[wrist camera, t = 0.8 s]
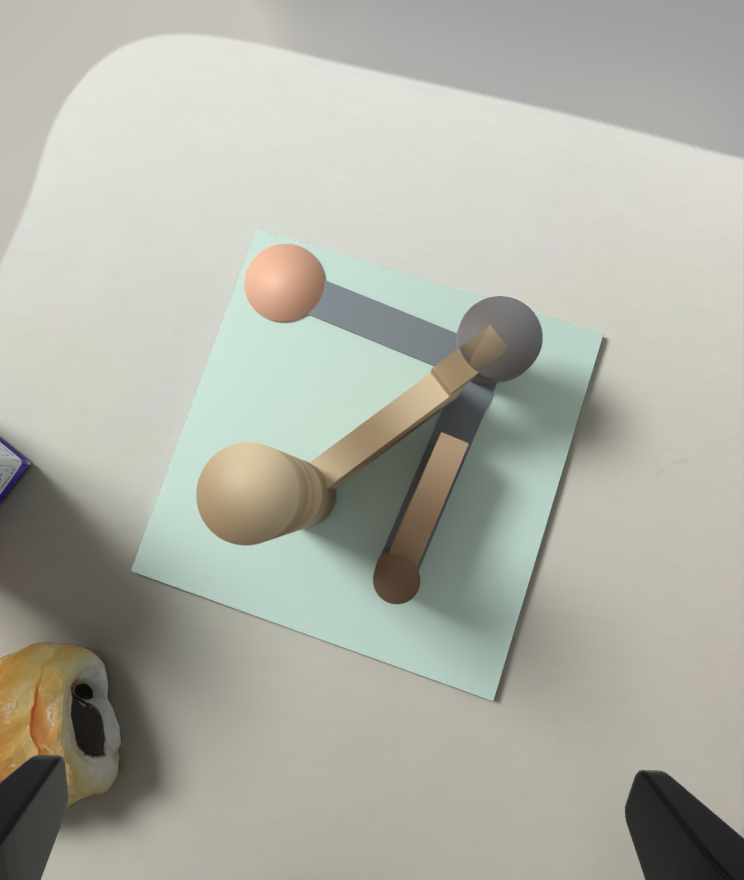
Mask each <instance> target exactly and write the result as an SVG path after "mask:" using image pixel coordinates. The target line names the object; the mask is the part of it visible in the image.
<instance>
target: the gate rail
mask: <svg viewBox="0 0 744 880" xmlns="http://www.w3.org/2000/svg"><path fill="white" fill-rule="evenodd" d="M542 343H543V334H542V328H541V325H540V322H539V320H538V318H537V316H536V315H535V313H534V312H533V311H532V310H531V309H530V308H529V307H528V306H527V305H525V304H524V303H522V302H521V301H518V300H516V299H513V298H510V297H503V296H497V297H490V298H486V299H483V300H481V301H479V302H478V303H476V304H474V305H473V306H472V307H471V308H470V309H469V310H468V311H467V312H466V314H465V315H464V316H463V318H462V320H461V323H460V325H459V328H458V331H457V335H456V351H454V352H453V353H452V354H450V355H449V356H448V357H446V358H445V359H443V360H442V361H441V362H439V363H438V364H437V365H435V366H434V367H433V368H432V369H431V373H430V374H428V375H427V376H426V377H424V378H423V379H422V380H420V381H419V382H418V383H416V384H415V385H414V386H412V387H411V388H410V389H408V390H407V391H405V392H404V393H403V394H401V395H400V396H399V397H397V398H396V399H395V400H393V401H392V402H391V403H389V404H388V405H387V406H385V407H384V408H383V409H381V410H380V411H378V412H377V413H376V414H374V415H373V416H372V417H370V418H369V419H368V420H366V421H365V422H364V423H362V424H361V425H360V426H358V427H357V428H356V429H354V430H353V431H352V432H350V433H349V434H347V435H346V436H345V437H343V438H342V439H341V440H339V441H338V442H337V443H335V444H334V445H333V446H331V447H330V448H329V449H327V450H326V451H325V452H323V453H322V454H320V455H319V456H318V457H316V458H315V459H314V460H312V461H311V462H310V463H309V462H306V461H304V460H302V459H299V458H297V457H294V456H292V455H289V454H287V453H284V452H282V451H279V450H277V449H274V448H272V447H269V446H267V445H264V444H261V443H256V442H241V443H236V444H233V445H230V446H228V447H226V448H223V449H222V450H220V451H219V452H217V453H216V454H215V455H214V456H213V457H212V458H211V459H210V460H209V461H208V462H207V464H206V465H205V467H204V468H203V470H202V472H201V474H200V477H199V480H198V484H197V490H196V500H197V507H198V510H199V513H200V516H201V518H202V520H203V521H204V523H205V525H206V526H207V527H208V528H209V530H210V531H211V532H212V533H214V534H215V535H216V536H217V537H219V538H220V539H222V540H224V541H226V542H229V543H232V544H236V545H244V546H247V545H256V544H260V543H263V542H266V541H269V540H272V539H275V538H278V537H281V536H284V535H287V534H290V533H293V532H296V531H298V530H301V529H304V528H307V527H310V526H313V525H316V524H318V523H320V522H322V521H323V520H325V519H326V518H327V517H328V516H329V515H330V513H331V512H332V510H333V508H334V506H335V502H336V488H337V487H339V486H340V485H341V484H343V483H344V482H345V481H347V480H348V479H349V478H351V477H352V476H354V475H355V474H356V473H358V472H359V471H360V470H362V469H363V468H364V467H366V466H367V465H368V464H370V463H371V462H372V461H374V460H375V459H376V458H378V457H379V456H380V455H382V454H383V453H384V452H386V451H387V450H388V449H390V448H391V447H392V446H394V445H395V444H397V443H398V442H399V441H401V440H402V439H403V438H405V437H406V436H407V435H409V434H410V433H411V432H413V431H414V430H415V429H417V428H418V427H419V426H421V425H422V424H423V423H425V422H426V421H427V420H429V419H430V418H431V417H433V416H434V415H436V414H437V413H438V412H440V411H441V410H442V409H444V408H445V407H446V406H448V405H449V404H450V403H452V402H453V401H454V400H456V399H457V397H458V396H459V394H460V392H461V391H462V389H463V388H464V386H465V385H466V384H467V383H468V382H470V381H471V380H472V379H474V378H475V377H476V378H479V379H481V380H483V381H487V382H493V383H501V382H507V381H510V380H513V379H515V378H517V377H519V376H520V375H522V374H523V373H524V372H525V371H526V370H527V369H528V368H529V367H530V366H531V365H532V364H533V363H534V362H535V361H536V359H537V357H538V355H539V353H540V351H541V348H542Z"/></svg>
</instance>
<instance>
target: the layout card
mask: <svg viewBox="0 0 744 880" xmlns="http://www.w3.org/2000/svg"><path fill="white" fill-rule="evenodd" d="M483 299H486V298H485V297H481V296H478V295H475V294H472V293H468V292H465V291H462V290H458V289H455V288H452V287H448V286H445V285H442V284H438V283H435V282H432V281H428V280H425V279H422V278H418V277H415V276H412V275H408V274H405V273H402V272H399V271H395V270H392V269H389V268H385V267H382V266H379V265H375V264H372V263H369V262H365V261H362V260H359V259H355V258H352V257H349V256H345V255H342V254H339V253H335V252H332V251H329V250H326V249H322V248H319V247H316V246H312V245H309V244H306V243H302V242H299V241H296V240H292V239H289V238H286V237H282V236H279V235H276V234H272V233H269V232H266V231H263V230H259V229H256V231H255V234H254V237H253V239H252V242H251V245H250V248H249V250H248V253H247V256H246V258H245V261H244V264H243V267H242V269H241V272H240V275H239V277H238V280H237V283H236V286H235V288H234V291H233V294H232V297H231V299H230V302H229V305H228V307H227V310H226V313H225V316H224V318H223V321H222V324H221V326H220V329H219V332H218V335H217V337H216V340H215V343H214V345H213V348H212V351H211V354H210V356H209V359H208V362H207V364H206V367H205V370H204V373H203V375H202V378H201V381H200V384H199V386H198V389H197V392H196V394H195V397H194V400H193V403H192V405H191V408H190V411H189V413H188V416H187V419H186V422H185V424H184V427H183V430H182V432H181V435H180V438H179V441H178V443H177V446H176V449H175V452H174V454H173V457H172V460H171V462H170V465H169V468H168V471H167V473H166V476H165V479H164V481H163V484H162V487H161V490H160V492H159V495H158V498H157V500H156V503H155V506H154V509H153V511H152V514H151V517H150V519H149V522H148V525H147V528H146V530H145V533H144V536H143V539H142V541H141V544H140V547H139V549H138V552H137V555H136V558H135V560H134V563H133V566H132V568H131V571H132V572H135V573H138V574H140V575H143V576H146V577H149V578H151V579H154V580H157V581H160V582H163V583H165V584H168V585H171V586H174V587H177V588H179V589H182V590H185V591H188V592H190V593H193V594H196V595H199V596H202V597H204V598H207V599H210V600H213V601H215V602H218V603H221V604H224V605H227V606H229V607H232V608H235V609H238V610H241V611H243V612H246V613H249V614H252V615H254V616H257V617H260V618H263V619H266V620H268V621H271V622H274V623H277V624H280V625H282V626H285V627H288V628H291V629H293V630H296V631H299V632H302V633H305V634H307V635H310V636H313V637H316V638H319V639H321V640H324V641H327V642H330V643H332V644H335V645H338V646H341V647H344V648H346V649H349V650H352V651H355V652H358V653H360V654H363V655H366V656H369V657H371V658H374V659H377V660H380V661H383V662H385V663H388V664H391V665H394V666H397V667H399V668H402V669H405V670H408V671H410V672H413V673H416V674H419V675H422V676H424V677H427V678H430V679H433V680H436V681H438V682H441V683H444V684H447V685H449V686H452V687H455V688H458V689H461V690H463V691H466V692H469V693H472V694H475V695H477V696H480V697H483V698H486V699H488V700H491V701H493V700H494V697H495V694H496V690H497V687H498V684H499V680H500V677H501V674H502V670H503V667H504V664H505V660H506V657H507V654H508V650H509V647H510V644H511V640H512V637H513V634H514V630H515V627H516V624H517V620H518V617H519V614H520V610H521V607H522V604H523V600H524V597H525V594H526V590H527V587H528V584H529V580H530V577H531V574H532V570H533V567H534V564H535V560H536V557H537V554H538V550H539V547H540V544H541V541H542V537H543V534H544V531H545V527H546V524H547V521H548V517H549V514H550V511H551V507H552V504H553V501H554V497H555V494H556V491H557V487H558V484H559V481H560V477H561V474H562V471H563V467H564V464H565V461H566V457H567V454H568V451H569V447H570V444H571V441H572V437H573V434H574V431H575V427H576V424H577V421H578V417H579V414H580V411H581V407H582V404H583V401H584V397H585V394H586V391H587V387H588V384H589V381H590V377H591V374H592V371H593V367H594V364H595V361H596V357H597V354H598V351H599V347H600V344H601V341H602V337H603V334H604V333H601V332H598V331H594V330H591V329H588V328H584V327H581V326H578V325H574V324H571V323H568V322H564V321H561V320H558V319H554V318H551V317H548V316H544V315H541V314H538V313H535V312H534V313H535V315H536V316H537V318H538V320H539V322H540V325H541V328H542V334H543V343H542V348H541V351H540V353H539V355H538V357H537V359H536V361H535V362H534V363H533V364H532V365H531V366H530V367H529V368H528V369H527V370H526V371H525V372H524V373H523V374H522V375H520V376H519V377H517V378H515V379H513V380H510V381H507V382H501V383H492V384H489V385H478V384H474V383H472V382H471V381H470V382H468V383H467V384H466V385H465V386H464V388H463V389H462V391H461V392H460V394H459V396H458V397H457V399H456V400H454V401H453V402H452V403H450V404H449V405H448V406H446V407H445V408H444V409H442V410H441V411H440V412H438V413H437V414H436V415H434V416H433V417H431V418H430V419H429V420H427V421H426V422H425V423H423V424H422V425H421V426H419V427H418V428H417V429H415V430H414V431H413V432H411V433H410V434H409V435H407V436H406V437H405V438H403V439H402V440H401V441H399V442H398V443H397V444H395V445H394V446H392V447H391V448H390V449H388V450H387V451H386V452H384V453H383V454H382V455H380V456H379V457H378V458H376V459H375V460H374V461H372V462H371V463H370V464H368V465H367V466H366V467H364V468H363V469H362V470H360V471H359V472H358V473H356V474H355V475H354V476H352V477H351V478H349V479H348V480H347V481H345V482H344V483H343V484H341V485H340V486H339V487H337V488H336V502H335V506H334V508H333V510H332V512H331V513H330V515H329V516H328V517H327V518H326V519H325V520H323V521H322V522H320V523H318V524H316V525H313V526H310V527H307V528H304V529H301V530H298V531H296V532H293V533H290V534H287V535H284V536H281V537H278V538H275V539H272V540H269V541H266V542H263V543H260V544H256V545H247V546H244V545H236V544H232V543H229V542H226V541H224V540H222V539H220V538H219V537H217V536H216V535H215V534H214V533H212V532H211V531H210V530H209V528H208V527H207V526H206V525H205V523H204V521H203V520H202V518H201V516H200V513H199V510H198V507H197V500H196V490H197V484H198V480H199V477H200V474H201V472H202V470H203V468H204V467H205V465H206V464H207V462H208V461H209V460H210V459H211V458H212V457H213V456H214V455H215V454H216V453H217V452H219V451H220V450H222V449H223V448H226V447H228V446H230V445H233V444H236V443H241V442H256V443H261V444H264V445H267V446H269V447H272V448H274V449H277V450H279V451H282V452H284V453H287V454H289V455H292V456H294V457H297V458H299V459H302V460H304V461H306V462H309V463H310V462H311V461H312V460H314V459H315V458H316V457H318V456H319V455H320V454H322V453H323V452H325V451H326V450H327V449H329V448H330V447H331V446H333V445H334V444H335V443H337V442H338V441H339V440H341V439H342V438H343V437H345V436H346V435H347V434H349V433H350V432H352V431H353V430H354V429H356V428H357V427H358V426H360V425H361V424H362V423H364V422H365V421H366V420H368V419H369V418H370V417H372V416H373V415H374V414H376V413H377V412H378V411H380V410H381V409H383V408H384V407H385V406H387V405H388V404H389V403H391V402H392V401H393V400H395V399H396V398H397V397H399V396H400V395H401V394H403V393H404V392H405V391H407V390H408V389H410V388H411V387H412V386H414V385H415V384H416V383H418V382H419V381H420V380H422V379H423V378H424V377H426V376H427V375H428V374H430V373H431V369H432V368H433V367H434V366H435V365H437V364H438V363H439V362H441V361H442V360H443V359H445V358H446V357H448V356H449V355H450V354H452V353H453V352H454V351H456V335H457V331H458V328H459V325H460V323H461V320H462V318H463V316H464V315H465V314H466V312H467V311H468V310H469V309H470V308H471V307H472V306H473V305H474V304H476V303H478V302H479V301H481V300H483ZM441 432H443V433H445V434H447V435H450V436H452V437H455V438H457V439H459V440H462V441H464V442H466V443H469V444H468V447H467V449H466V452H465V454H464V456H463V459H462V461H461V464H460V466H459V468H458V471H457V473H456V475H455V478H454V480H453V483H452V485H451V487H450V490H449V492H448V495H447V497H446V499H445V502H444V504H443V507H442V509H441V511H440V514H439V516H438V518H437V521H436V523H435V526H434V528H433V530H432V533H431V535H430V538H429V540H428V542H427V545H426V547H425V550H424V552H423V554H422V557H421V559H420V561H419V564H418V566H417V567H418V571H419V574H420V587H419V590H418V592H417V594H416V595H415V596H414V597H413V598H412V599H411V600H410V601H408V602H406V603H403V604H390V603H388V602H386V601H384V600H382V599H381V598H380V597H379V596H378V594H377V593H376V591H375V589H374V586H373V574H374V571H375V567H376V564H377V560H378V558H379V557H380V555H381V554H382V553H383V552H384V551H386V550H388V549H390V548H391V545H392V543H393V541H394V538H395V536H396V534H397V531H398V529H399V526H400V524H401V522H402V519H403V517H404V515H405V512H406V510H407V508H408V505H409V503H410V501H411V498H412V496H413V493H414V491H415V489H416V486H417V484H418V482H419V479H420V477H421V475H422V472H423V470H424V468H425V465H426V463H427V460H428V458H429V456H430V453H431V451H432V449H433V446H434V444H435V442H436V439H437V437H438V436H439V434H440V433H441Z"/></svg>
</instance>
